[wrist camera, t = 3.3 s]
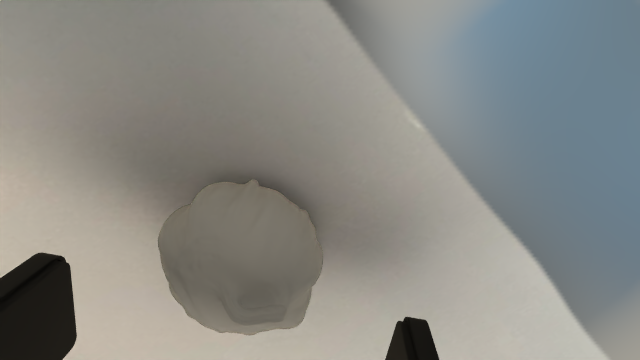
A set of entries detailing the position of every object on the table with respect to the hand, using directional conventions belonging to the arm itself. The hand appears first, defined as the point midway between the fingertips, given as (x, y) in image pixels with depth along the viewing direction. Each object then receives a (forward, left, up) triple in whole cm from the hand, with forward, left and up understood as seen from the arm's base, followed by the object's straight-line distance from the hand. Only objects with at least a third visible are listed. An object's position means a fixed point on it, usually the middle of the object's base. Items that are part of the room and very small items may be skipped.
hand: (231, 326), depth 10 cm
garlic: (0, 0, -6) cm, 6 cm away
